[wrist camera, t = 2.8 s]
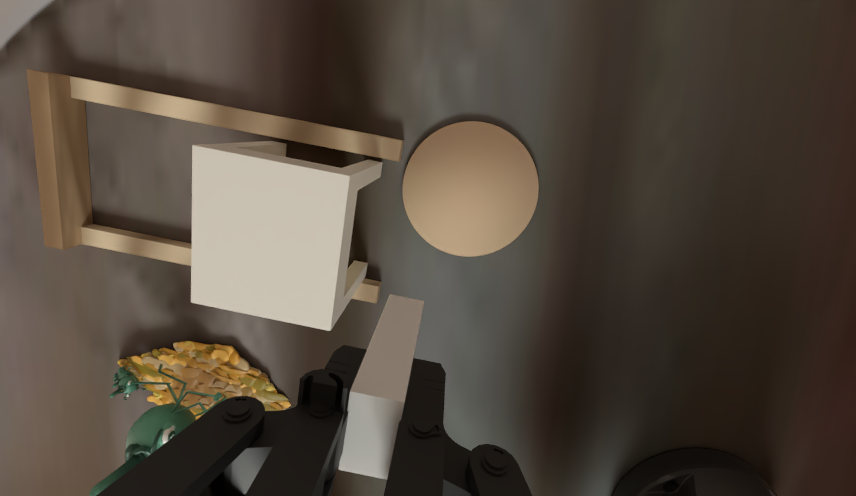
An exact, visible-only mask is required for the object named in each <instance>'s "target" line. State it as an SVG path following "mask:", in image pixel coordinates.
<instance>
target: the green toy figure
mask: <svg viewBox="0 0 856 496" xmlns="http://www.w3.org/2000/svg"><path fill="white" fill-rule="evenodd" d="M166 346H167V345H166ZM173 346H174V348H175V350H171V349H166V348H163V347H162V348H161V349H159V350H157V349H154V350H153V351H152V353H151V352H147V353H144V354H142V355H141V356H133V357H126V358H128V359H127V360H126V359H125V360H124V359H121V360H118V363H119V366H121V368H119V369H118V371H117V373H116V374H115V375H114V376H115V377H113V379H115V378H116V377H117V378H116V379H115V380H113V382H115V381H117V380H118V382H117V383H115V384H114V385H113V386H112V387H115V386H117V385H118V387H117V388H118V390H116V391H115V392H113V393H112V394H111V395H110V397H114V396H115V395H117V394H118V393H119V394H120V393H126V397H128V396H130V393H131V392H133V391H135V390H138V389H139V388H140V387H138V386H139V384H141V385H142V384H144V385H143V386H144V387H145V388H146V389H147V390H149V391H152V392H154V393H153V395H154V396H153V395H150V396H149V397H147V400H148V401H150V402H155V403H156V404H157V405H158V406H155V407H153V408H151V409H149V410H148V411H146V412H145V413H144V414H143V415H142V416H141V417H140V418H139V419H138V420H137V421H136V422H135V423H134V424H133V426H132V427H131V429H130V431H129V433H128V436H127V440H126V451H125V458H126V463H124V464H123V465H122V466H121V467H119V468H118V469H117V470H115V471H114V472H113V473H111V474H110V475H109V476H107V477H106V478H105V479H103V480H102V481H101V482H99V483H98V484H97V485H96V486H94V487H93V488H92V489H91V491H90V496H96V495H97V494H99V493H100V492H101V491H103V490H104V489H105V488H107V487H108V486H109V485H111V484H112V483H113V482H115V481H116V480H117V479H119V478H120V477H121V476H123V475H124V474H125V473H127V472H128V471H129V470H131V469H132V468H133V467H134V466H136V465H137V464H138V463H140V462H141V461H142V460H144V459H145V458H146V457H148V456H149V455H150V454H152V453H153V452H154V451H156V450H157V449H158V448H160V447H161V446H162V445H164V444H165V443H166V442H168V441H169V440H170V439H172V438H173V437H174V436H176V435H177V434H178V433H180V432H181V431H182V430H184V429H185V428H186V427H187V426H189V425H190V424H191V423H193V422H194V421H195V420H197V419H198V418H199V417H201V416H202V415H203V414H205V413H206V412H207V411H209V410H210V409H211V408H213V407H214V406H215V405H217V404H218V403H220V402H222V401H224V400H225V399H228V398H232V397H235V396H249V397H254V398H256V399H258V400H259V401H261V402H262V403H263V405H264V407H265V411H279V410H286V408H288V407H290V406H291V404H290V402H288V401H287V400H288V399H287V398H286V397H285V396H284V395H282V394H277V391H276V389H275V387H274V385H273V384H271V383H270V380H269V378H268V376H267V374H265V373H263V372H261V371H260V370H259V369H256V368H253V367H251V366H249V363H248V362H247V361H246V360H245V359H243V358H241V357H240V356H239V353H238V352H237V351H236V350H235V349H234V348H233V347H232V346H226V345H220V344H202V343H197V342H193V341H184V342H179V343H178V342H176V343H173ZM139 381H142V382H139ZM141 389H143V391H144V390H146V389H144V388H141ZM124 400H127V399H125V397H124Z"/></svg>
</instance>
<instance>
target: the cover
mask: <svg viewBox="0 0 856 496" xmlns="http://www.w3.org/2000/svg"><path fill="white" fill-rule="evenodd" d="M286 146H287V144H286V143H281V142H276V141H259V142H241V143H223V144H204V145H193V150H192V248H191V303H195V304H200V305H205V306H210V307H215V308H220V309H225V310H230V311H235V312H239V313H244V314H249V315H254V316H259V317H264V318H269V319H274V320H279V321H284V322H289V323H293V324H298V325H303V326H308V327H313V328H318V329H323V330H328V331H331V329H332V328H333V326H334V325H335V323H336V321H337V320H338V318H339V317H340V315H341V314H342V312H343V311H344V309H345V307H346V306H347V304H348V303H349V301H350V300H351V298H352V297H353V295H354V293H355V292H356V290H357V289H358V287H359V286H360V284H361V282H362V281H363V279H364V278H365V276H366V272H367V265H368V263H365V262H360V261H355V260H354V261H353V263H352V264H351V265H350V266H349V268H348V260H349V253H350V245H351V237H352V230H353V222H354V215H355V207H356V200H357V192H358V190H359V189H361V188H363V187H364V186H366V185H368V184H369V183H371V182H373V181H375V180H376V179H378V178H380V177H381V170H382V163H383V162H378V161H373V160H365V161H362V162H359V163H356V164H352V165H349V166H346V167H343V168H339V167H334V166H329V165H324V164H319V163H314V162H308V161H303V160H298V159H293V158H288V157H286ZM347 268H348V269H347Z"/></svg>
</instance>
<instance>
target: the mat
mask: <svg viewBox="0 0 856 496" xmlns="http://www.w3.org/2000/svg"><path fill="white" fill-rule="evenodd" d="M538 191H539V184H538V176H537V171H536V168H535V165H534V162H533V160H532V158H531V156H530V154H529V152H528V151H527V149H526V148H525V147H524V145H523V144H522V143H521V142H520V141H519V140H518V139H517V138H516V137H515V136H513V135H512V134H511V133H509V132H508V131H506V130H504V129H503V128H500V127H498V126H496V125H493V124H489V123H485V122H478V121H465V122H459V123H455V124H451V125H448V126H446V127H443V128H441V129H439V130H437V131H436V132H434V133H433V134H431V135H430V136H429V137H427V138H426V139H425V140H424V141H423V142H422V143H421V144H420V145H419V146H418V148H417V149H416V150H415V152H414V153H413V155H412V157H411V159H410V160H409V162H408V165H407V168H406V170H405V175H404V179H403V201H404V206H405V209H406V213H407V215H408V217H409V220H410V222H411V223H412V225H413V227H414V228H415V230H416V231H417V232H418V233H419V235H420V236H421V237H422V238H423V239H425V240H426V241H427V242H428V243H429V244H431V245H432V246H434V247H436V248H437V249H439V250H441V251H444V252H446V253H449V254H453V255H457V256H467V257H473V256H482V255H486V254H490V253H493V252H495V251H498V250H500V249H502V248H503V247H505V246H507V245H508V244H510V243H511V242H513V241H514V240H515V239H516V238H517V237H518V236H519V235H520V234H521V233H522V232H523V230H524V229H525V228H526V226H527V225H528V223H529V222H530V220H531V218H532V216H533V214H534V211H535V208H536V205H537V200H538Z"/></svg>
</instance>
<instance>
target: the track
mask: <svg viewBox="0 0 856 496" xmlns="http://www.w3.org/2000/svg"><path fill="white" fill-rule="evenodd" d="M27 77H28V87H29V96H30V106H31V116H32V126H33V135H34V145H35V155H36V165H37V174H38V184H39V194H40V203H41V213H42V223H43V233H44V242H45V246H47V247H52V248H57V249H62V250H64V249H67V248H71V247H74V246H77V245H81V244H85V245H90V246H95V247H100V248H105V249H109V250H114V251H119V252H124V253H129V254H134V255H139V256H144V257H149V258H154V259H159V260H164V261H169V262H174V263H179V264H184V265H189V266H191V248H192V244H191V243H186V242H181V241H176V240H171V239H166V238H161V237H156V236H151V235H146V234H141V233H136V232H131V231H126V230H122V229H117V228H112V227H107V226H102V225H97V224H93V216H92V200H91V185H90V169H89V154H88V138H87V123H86V107H85V100H86V101H91V102H96V103H101V104H106V105H111V106H117V107H122V108H127V109H132V110H137V111H142V112H147V113H152V114H158V115H163V116H168V117H173V118H178V119H183V120H188V121H194V122H199V123H204V124H209V125H214V126H219V127H224V128H229V129H235V130H240V131H245V132H250V133H255V134H260V135H265V136H270V137H276V138H281V139H286V140H291V141H296V142H301V143H306V144H312V145H317V146H322V147H327V148H332V149H337V150H342V151H347V152H353V153H358V154H363V155H368V156H373V157H378V158H383V159H388V160H394V161H401V157H402V150H403V144H404V140H399V139H394V138H389V137H384V136H379V135H373V134H368V133H363V132H358V131H353V130H348V129H343V128H337V127H332V126H327V125H322V124H317V123H312V122H306V121H301V120H296V119H291V118H286V117H281V116H275V115H270V114H265V113H260V112H255V111H250V110H244V109H239V108H234V107H229V106H224V105H219V104H214V103H208V102H203V101H198V100H193V99H188V98H183V97H177V96H172V95H167V94H162V93H157V92H152V91H146V90H141V89H136V88H131V87H126V86H121V85H116V84H110V83H105V82H100V81H95V80H90V79H85V78H79V77H74V76H69V75H64V74H57V73H50V72H43V71H36V70H28V69H27ZM380 287H381V282H380V281H375V280H370V279H365V278H364V279H363V281H362V282H361V284H360V286H359V287H358V289H357V290H356V292H355V293H354V295H353V297H352V299H357V300H362V301H367V302H372V303H377V300H378V298H379V293H380Z"/></svg>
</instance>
